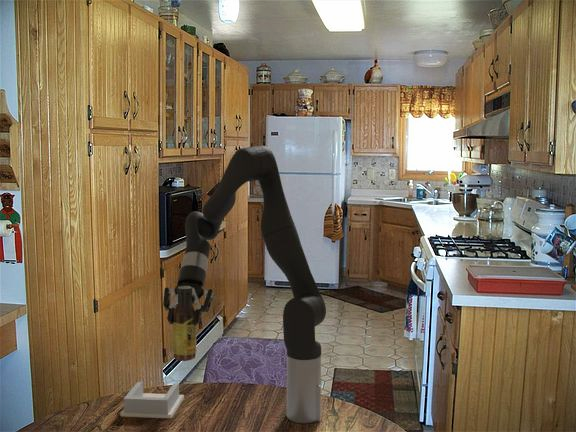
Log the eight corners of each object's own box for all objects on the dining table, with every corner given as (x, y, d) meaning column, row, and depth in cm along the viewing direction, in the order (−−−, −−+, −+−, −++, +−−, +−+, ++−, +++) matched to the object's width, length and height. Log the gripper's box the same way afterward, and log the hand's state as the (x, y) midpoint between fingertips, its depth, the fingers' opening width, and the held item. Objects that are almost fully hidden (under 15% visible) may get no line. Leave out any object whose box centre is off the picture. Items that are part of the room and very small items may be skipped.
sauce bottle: (191, 363, 158) (190, 291, 155) (169, 361, 159) (168, 289, 156) (199, 354, 164) (199, 285, 162) (179, 352, 165) (178, 284, 163)
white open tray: (184, 398, 169) (183, 381, 168) (171, 418, 156) (171, 400, 156) (136, 396, 170) (136, 379, 170) (120, 416, 157) (119, 398, 157)
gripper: (166, 263, 166) (153, 315, 156) (216, 264, 165) (206, 318, 155) (171, 277, 172) (160, 329, 162) (219, 279, 171) (211, 331, 161)
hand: (182, 323), depth 159 cm, fingers closed on sauce bottle, 6 cm apart
